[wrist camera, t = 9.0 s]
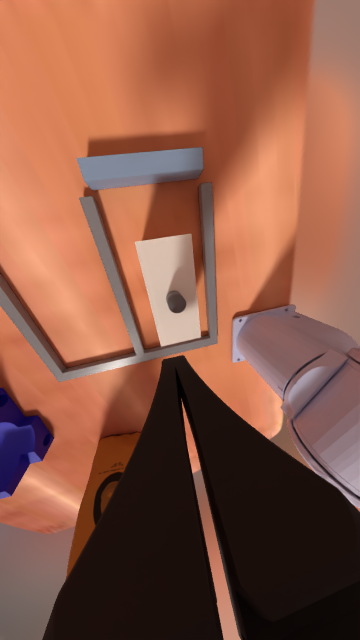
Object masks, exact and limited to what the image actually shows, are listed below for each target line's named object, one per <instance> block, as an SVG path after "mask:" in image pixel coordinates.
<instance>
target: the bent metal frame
mask: <svg viewBox="0 0 360 640" xmlns="http://www.w3.org/2000/svg"><path fill="white" fill-rule="evenodd" d="M198 192H199V207H200V221H201V236H202V251H203V265H204V280H205V295H206V310H207V324H208V335H206V336H202V337H200V338H196V339H192V340H187V341H183V342H179V343H175V344H170V345H166V346H162V347H161V346H160V347H155V348H151V349H147V350H144V347H143V344H142V340H141V337H140V334H139V331H138V328H137V325H136V322H135V319H134V316H133V313H132V310H131V307H130V304H129V301H128V298H127V294H126V291H125V288H124V285H123V282H122V279H121V276H120V273H119V270H118V267H117V264H116V261H115V258H114V255H113V252H112V248H111V245H110V242H109V239H108V236H107V233H106V230H105V227H104V224H103V221H102V218H101V215H100V212H99V209H98V206H97V202H96V200H95V199H94V198H93V197H92V196H89V197H80V198H79V200H80V202H81V205H82V208H83V211H84V213H85V216H86V219H87V221H88V224H89V227H90V230H91V232H92V235H93V238H94V241H95V243H96V246H97V249H98V251H99V254H100V257H101V260H102V262H103V265H104V268H105V271H106V273H107V276H108V279H109V282H110V284H111V287H112V290H113V292H114V295H115V298H116V301H117V303H118V306H119V309H120V312H121V314H122V317H123V320H124V322H125V325H126V328H127V331H128V333H129V336H130V339H131V342H132V344H133V347H134V350H135V352H134V353H130V354H126V355H121V356H117V357H113V358H109V359H104V360H100V361H96V362H92V363H87V364H83V365H79V366H75V367H70V368H65V366H64V365H63V363H62V362H61V360H60V359H59V358H58V356H57V355H56V353H55V352H54V350H53V349H52V347H51V346H50V345H49V343H48V342H47V340H46V339H45V337H44V336H43V334H42V333H41V332H40V330H39V329H38V327H37V326H36V324H35V323H34V321H33V320H32V319H31V317H30V316H29V314H28V313H27V311H26V310H25V308H24V307H23V305H22V304H21V303H20V301H19V300H18V298H17V297H16V295H15V294H14V292H13V291H12V290H11V288H10V287H9V285H8V284H7V282H6V281H5V279H4V278H3V277H2V275H1V274H0V306H1V307H2V308H3V310H4V311H5V312H6V314H7V315H8V316H9V318H10V319H11V320H12V321H13V323H14V324H15V325H16V327H17V328H18V329H19V331H20V332H21V333H22V334H23V336H24V337H25V338H26V340H27V341H28V342H29V344H30V345H31V346H32V348H33V349H34V350H35V351H36V353H37V354H38V355H39V357H40V358H41V359H42V361H43V362H44V363H45V364H46V366H47V367H48V368H49V370H50V371H51V372H52V374H53V375H54V376H55V378H56V379H57V380H58V381H59V382H62V381H66V380H70V379H74V378H78V377H82V376H86V375H90V374H95V373H99V372H103V371H107V370H111V369H115V368H119V367H123V366H127V365H131V364H136V363H140V362H144V361H148V360H152V359H156V358H160V357H164V356H168V355H172V354H176V353H181V352H185V351H189V350H193V349H197V348H201V347H205V346H209V345H213V344H217V343H218V342H217V312H216V283H215V253H214V224H213V194H212V182H209V183H201V184H200V186H199V187H198Z"/></svg>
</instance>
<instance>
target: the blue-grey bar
mask: <svg viewBox="0 0 360 640" xmlns="http://www.w3.org/2000/svg"><path fill="white" fill-rule="evenodd" d="M77 161H78V164H79V167H80V170H81V173H82V176H83V179H84V181H85V183H86V184H87V185H88V186H89V187H90V188H91V189H92V190H100V189H109V188H118V187H127V186H136V185H145V184H154V183H163V182H172V181H181V180H190V179H198V177H199V176H200V174H201V172H202V171H203V169H204V166H203V147H197V148H186V149H175V150H163V151H152V152H140V153H129V154H118V155H106V156H95V157H84V158H77Z"/></svg>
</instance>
